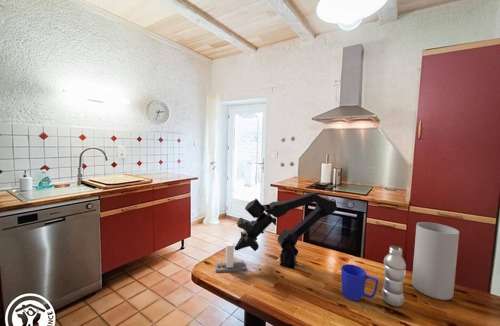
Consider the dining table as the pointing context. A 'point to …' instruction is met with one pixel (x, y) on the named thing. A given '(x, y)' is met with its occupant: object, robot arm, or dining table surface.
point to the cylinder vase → (435, 260)
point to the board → (230, 268)
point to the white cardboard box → (229, 254)
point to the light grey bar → (235, 263)
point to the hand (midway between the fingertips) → (235, 249)
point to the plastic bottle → (394, 277)
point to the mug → (355, 282)
